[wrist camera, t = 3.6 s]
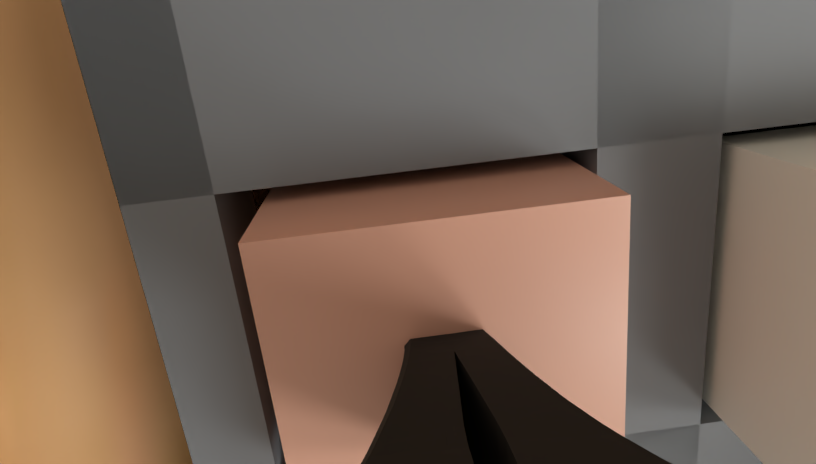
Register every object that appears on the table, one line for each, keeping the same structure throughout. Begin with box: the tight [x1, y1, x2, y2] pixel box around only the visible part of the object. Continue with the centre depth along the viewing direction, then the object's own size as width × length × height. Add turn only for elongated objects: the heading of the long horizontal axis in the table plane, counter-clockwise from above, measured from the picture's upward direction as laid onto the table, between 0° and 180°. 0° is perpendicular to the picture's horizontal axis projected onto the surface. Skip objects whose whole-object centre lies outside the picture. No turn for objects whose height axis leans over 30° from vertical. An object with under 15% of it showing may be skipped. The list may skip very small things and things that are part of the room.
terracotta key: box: [238, 153, 631, 464], centre depth 11 cm, size 6×6×4 cm
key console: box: [61, 0, 816, 464], centre depth 13 cm, size 20×14×3 cm
